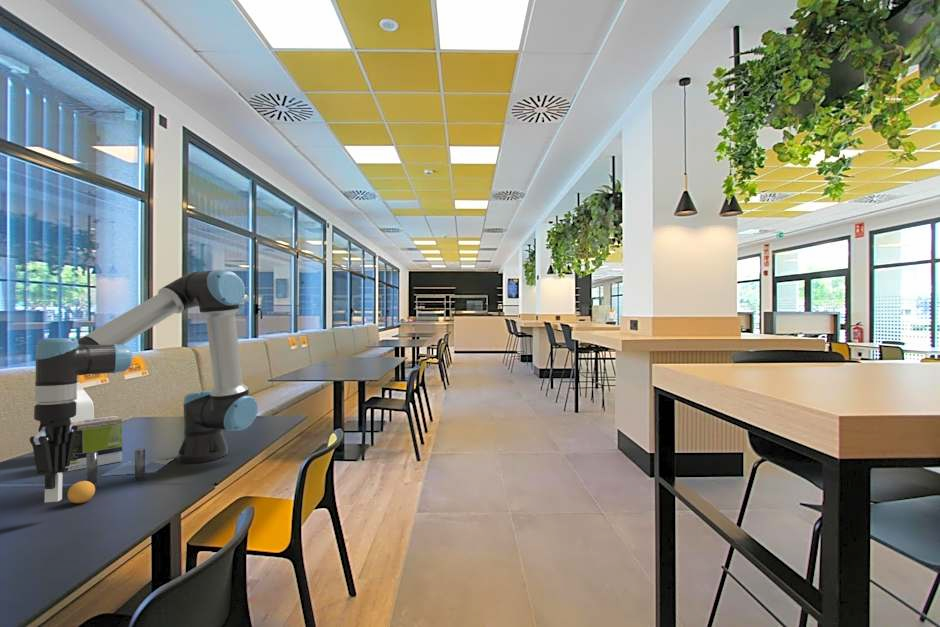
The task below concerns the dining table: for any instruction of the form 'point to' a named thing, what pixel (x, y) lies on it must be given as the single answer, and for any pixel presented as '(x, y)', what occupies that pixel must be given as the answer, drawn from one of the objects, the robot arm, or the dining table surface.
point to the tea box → (97, 441)
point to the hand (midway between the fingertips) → (53, 500)
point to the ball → (81, 492)
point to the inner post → (139, 464)
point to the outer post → (92, 467)
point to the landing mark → (133, 469)
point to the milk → (83, 405)
